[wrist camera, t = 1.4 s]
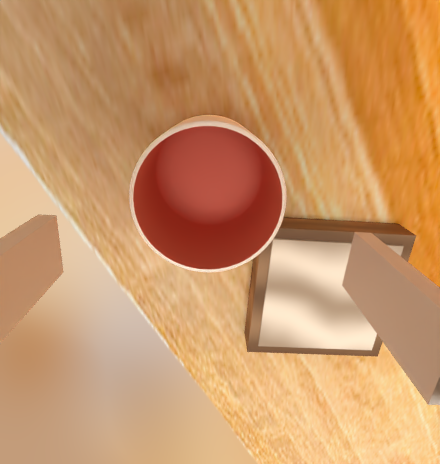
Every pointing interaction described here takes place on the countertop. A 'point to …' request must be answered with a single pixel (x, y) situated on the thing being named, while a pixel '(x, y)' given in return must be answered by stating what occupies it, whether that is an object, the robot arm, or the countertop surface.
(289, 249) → the stand
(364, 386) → the countertop surface
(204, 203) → the cup
